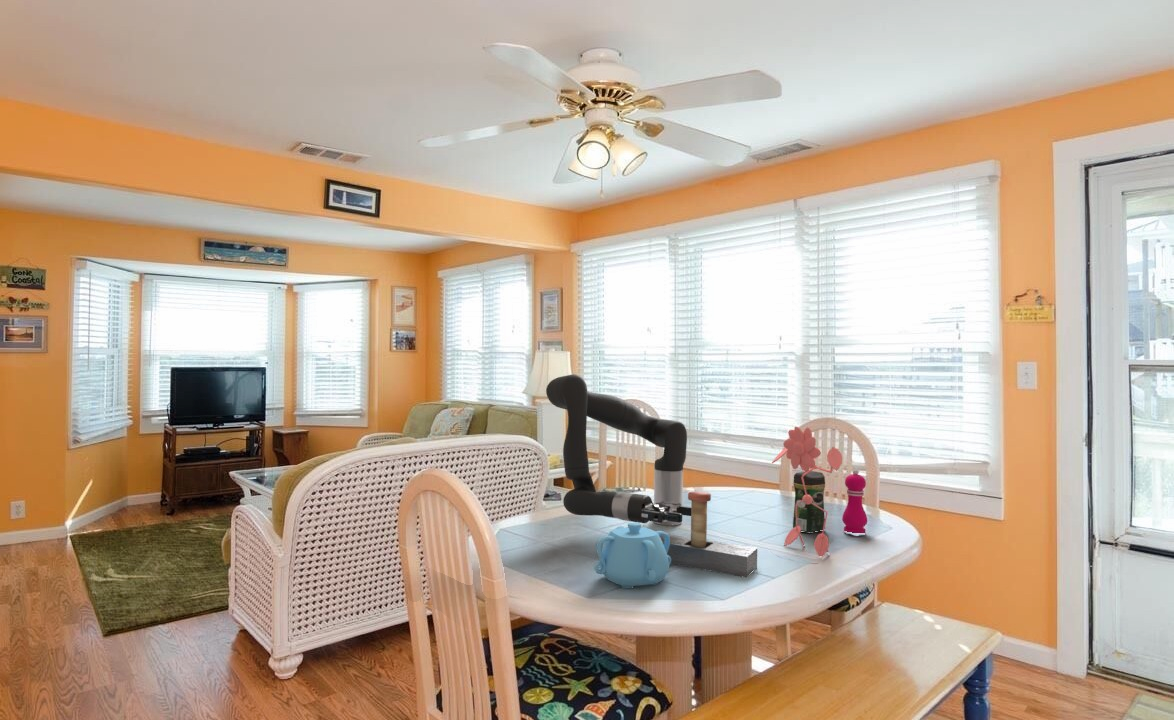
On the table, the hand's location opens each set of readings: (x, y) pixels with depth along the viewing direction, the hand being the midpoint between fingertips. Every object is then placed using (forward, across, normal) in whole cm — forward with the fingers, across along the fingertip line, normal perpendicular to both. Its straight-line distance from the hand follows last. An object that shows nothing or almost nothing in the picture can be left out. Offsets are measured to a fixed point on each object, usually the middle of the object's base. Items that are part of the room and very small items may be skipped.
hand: (687, 515), depth 172 cm
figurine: (+24, +24, +12) cm, 35 cm away
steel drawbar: (+3, 0, +12) cm, 12 cm away
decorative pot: (-5, -22, +12) cm, 26 cm away
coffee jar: (+21, +52, +12) cm, 57 cm away
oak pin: (+3, 0, +12) cm, 12 cm away
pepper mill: (+34, +55, +12) cm, 66 cm away
